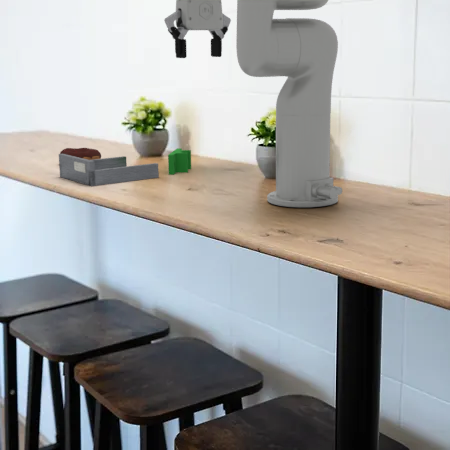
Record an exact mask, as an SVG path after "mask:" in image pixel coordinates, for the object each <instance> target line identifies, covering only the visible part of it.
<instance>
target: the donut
mask: <svg viewBox="0 0 450 450" xmlns="http://www.w3.org/2000/svg"><path fill="white" fill-rule="evenodd" d="M59 154H66V155H70V156H75V157H79V158H83V159H87V160H94V159H102V154H101V152H100V151H99V150H98V149H95V148H89V147H79V148H74V147H73V148H71V147H66V148H64V149H62V150H61V151H60V153H59Z"/></svg>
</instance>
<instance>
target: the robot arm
mask: <svg viewBox="0 0 450 450" xmlns="http://www.w3.org/2000/svg"><path fill="white" fill-rule="evenodd" d="M175 1H176V2H175V11H174V12H173V13H172V14H170V15H167V17H165V18H164V19H163V20H164V23H165V25H166V28H167V32H168V33H169V34H170V35H171V36H172V39H173V40H174V48H175V50H174V52H175V57H176V59H187V39H185V37H186V35H187V33H188V32H189V31H208V32H209V33H210V35H211V36H212V38H211V39H210V56H211V57H212V58H218V57H219V58H221V57H222V52H223V46H222V45H223V43H222V42H223V41H222V40H223V39H224V38H225V35H226V33H227V32H228V30H229V26H230V24H231V21H232V20H231V18H230V17H228V16H227V15H226V14H225V13H223V5H222V0H175ZM236 1H237V2H236V3H237V5H236V8H237V9H236V38H235V39H236V57H237V62H238V65H239V68H240V69H241V71H242V72H243V73H244V74H245V75H247V76H248V77H249V76H250V77H254V78H255V77H256V78H268V77H269V78H271V77H272V78H273V77H275V78H277V77H287V78H286V80H285V81H284V84H283V85H282V87H281V89H280V90H279V92H278V95H277V97H276V102H275V190H274V191H271V192H269V193H268V194H267V196H266V199H267V202H268V203H270V204H271V205H276V206H280V207H288V208H321V207H326V206H332V205H334V204H336V203H338V201H339V196H340V195H341V194H343V188H342V186H337V185H334V177H331V176H330V175H331V174H330V172H331V170H330V167H331V165H330V164H331V113H332V112H331V111H332V89H333V87H332V86H333V80H334V79H333V78H334V77H333V76H334V71H335V66H336V62H337V61H336V60H337V58H338V49H339V41H338V36H337V33H336V31H335V29H334V28H333V27H332V26H331V24H329V23H327V22H326V21H323V20H320V19H316V18H306V17H305V18H304V17H303V18H299V17H298V18H295V17H294V18H293V17H291V18H290V17H289V18H287V17H286V18H273V17H274V12H275V11H308V10H316V9H321V8H323V7H324V6H325V5H327V3H328V1H329V0H236ZM175 25H176V26H175Z"/></svg>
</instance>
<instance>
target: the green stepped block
mask: <svg viewBox="0 0 450 450" xmlns="http://www.w3.org/2000/svg"><path fill="white" fill-rule="evenodd" d="M167 159H168V160H167V164H168V166H167V167H168V176H170V175H172V176H173V175H175V174H176V173H181V174H182V173H183V174H184V173H185V174H186V173H189V170H192V150H191V149H190V150H189V149H182V148H176V149H174V150H173V151H172V152H170V153H169V154H167Z"/></svg>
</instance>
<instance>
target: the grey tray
mask: <svg viewBox="0 0 450 450" xmlns="http://www.w3.org/2000/svg"><path fill="white" fill-rule="evenodd" d="M58 164H59V178H63V179H67V180H69V181H73V182H75V183H79V184H83V185H86V186H89V187H90V186H91V187H95V186H96V187H97V186H103V185H109V184H117V183H126V182H135V181H141V180H149V179H157V178H159V163H158V162H153V163H144V164H138V165H128V164H127V156H123V155H122V156H112V157H107V158H105V157H104V158H101V159H94V160H87V159H83V158H79V157H75V156H70V155H66V154H60V153H58ZM127 165H128V166H127Z"/></svg>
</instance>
